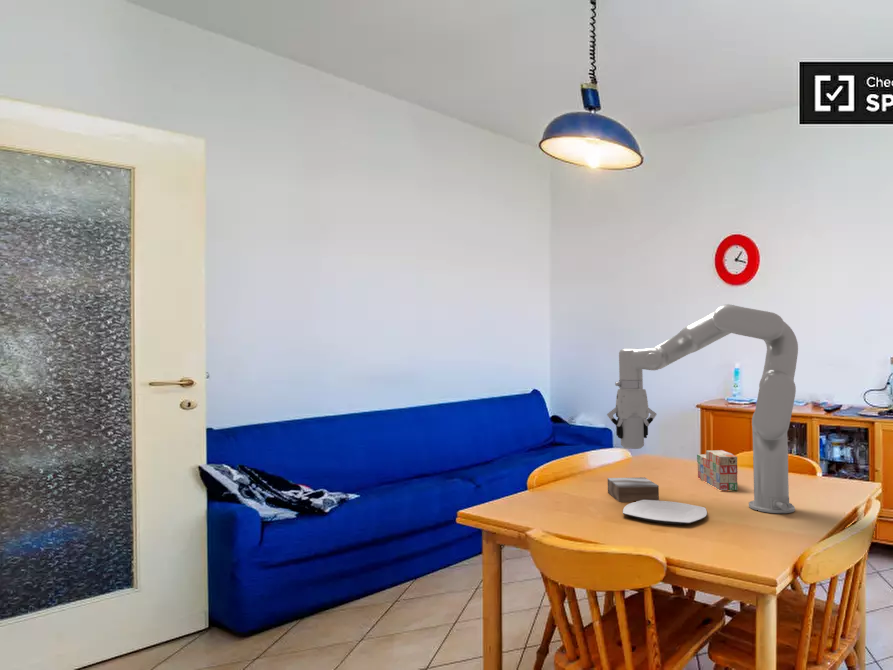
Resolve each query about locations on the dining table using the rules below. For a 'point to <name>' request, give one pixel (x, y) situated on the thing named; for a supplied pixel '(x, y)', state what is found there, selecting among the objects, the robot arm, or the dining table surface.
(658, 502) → the plate
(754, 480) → the robot arm
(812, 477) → the dining table surface
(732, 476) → the stack of blocks
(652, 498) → the riser
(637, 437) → the can
